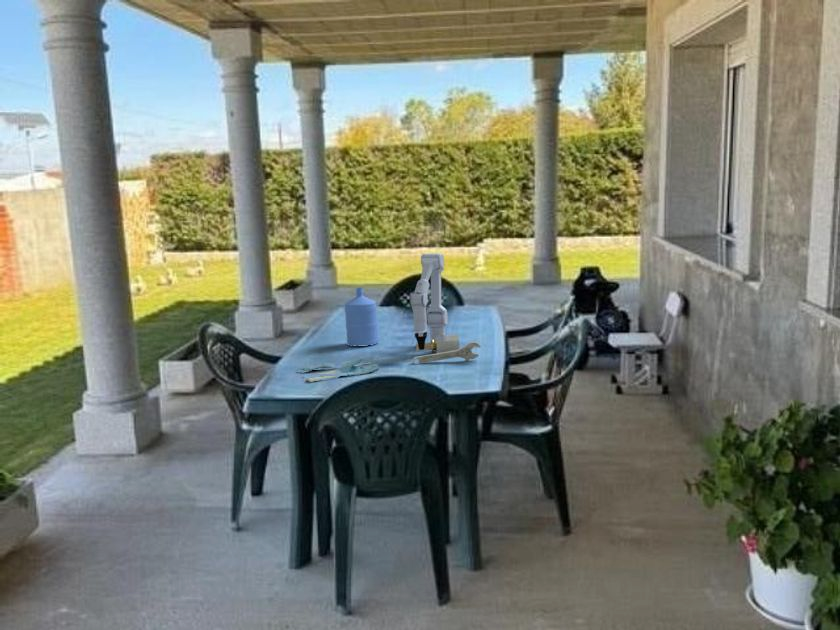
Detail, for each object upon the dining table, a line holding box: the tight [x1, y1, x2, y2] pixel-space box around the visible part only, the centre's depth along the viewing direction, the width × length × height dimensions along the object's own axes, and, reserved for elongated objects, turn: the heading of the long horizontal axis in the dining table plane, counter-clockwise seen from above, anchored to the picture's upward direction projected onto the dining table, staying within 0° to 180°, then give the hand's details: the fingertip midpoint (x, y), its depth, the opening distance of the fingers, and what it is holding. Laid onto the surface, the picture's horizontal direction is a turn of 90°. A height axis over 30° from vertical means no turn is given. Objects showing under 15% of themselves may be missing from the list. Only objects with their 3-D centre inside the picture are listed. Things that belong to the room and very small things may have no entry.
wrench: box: [412, 341, 482, 365], centre depth 332 cm, size 8×2×30 cm
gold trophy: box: [415, 339, 437, 354], centre depth 349 cm, size 6×14×6 cm, turn 90°
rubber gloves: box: [298, 356, 380, 382], centre depth 327 cm, size 27×33×6 cm
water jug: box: [344, 287, 380, 346], centre depth 377 cm, size 16×16×28 cm
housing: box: [436, 333, 460, 354], centre depth 349 cm, size 14×10×7 cm
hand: (421, 349), depth 349 cm, fingers closed on gold trophy, 2 cm apart
